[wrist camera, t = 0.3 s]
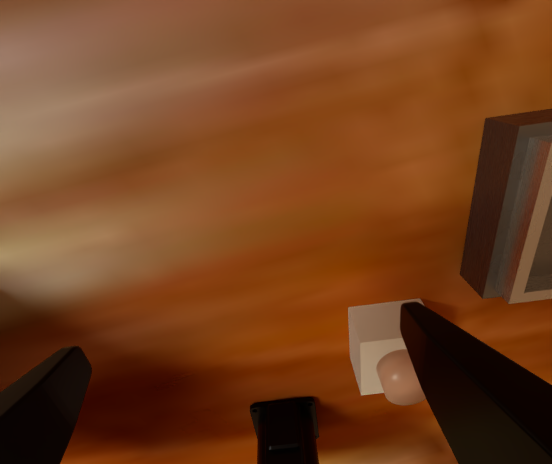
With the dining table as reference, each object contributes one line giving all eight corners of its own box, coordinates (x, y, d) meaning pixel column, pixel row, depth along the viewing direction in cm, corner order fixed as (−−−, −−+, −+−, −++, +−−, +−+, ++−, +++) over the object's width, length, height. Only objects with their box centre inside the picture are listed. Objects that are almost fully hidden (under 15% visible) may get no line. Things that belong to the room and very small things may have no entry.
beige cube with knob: (414, 348, 29) (447, 410, 24) (349, 355, 30) (368, 419, 24) (419, 297, 27) (457, 354, 21) (347, 306, 27) (368, 365, 22)
